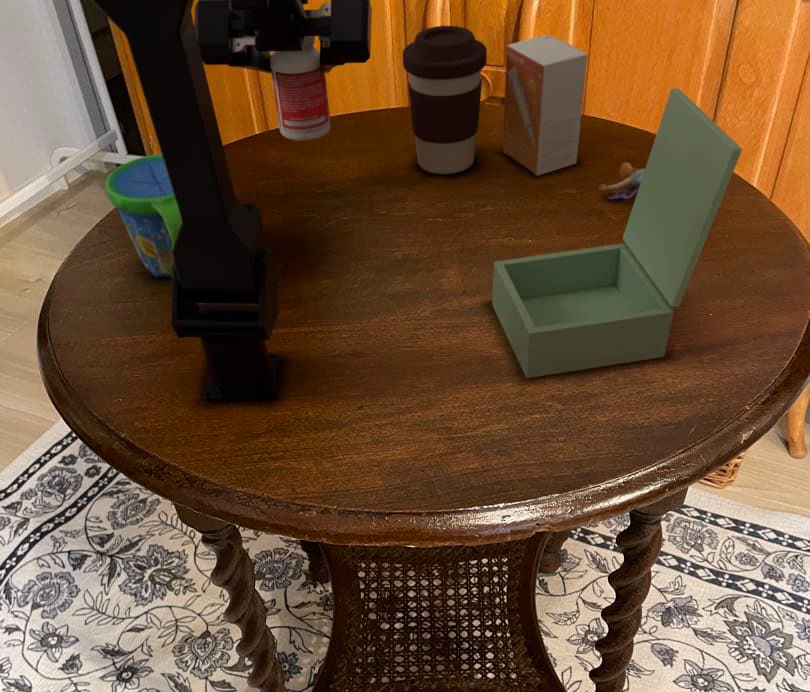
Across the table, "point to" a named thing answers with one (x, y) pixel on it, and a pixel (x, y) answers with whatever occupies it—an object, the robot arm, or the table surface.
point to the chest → (580, 310)
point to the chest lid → (679, 194)
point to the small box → (543, 103)
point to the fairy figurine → (627, 180)
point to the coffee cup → (445, 96)
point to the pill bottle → (300, 92)
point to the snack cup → (147, 210)
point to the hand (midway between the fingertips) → (300, 68)
